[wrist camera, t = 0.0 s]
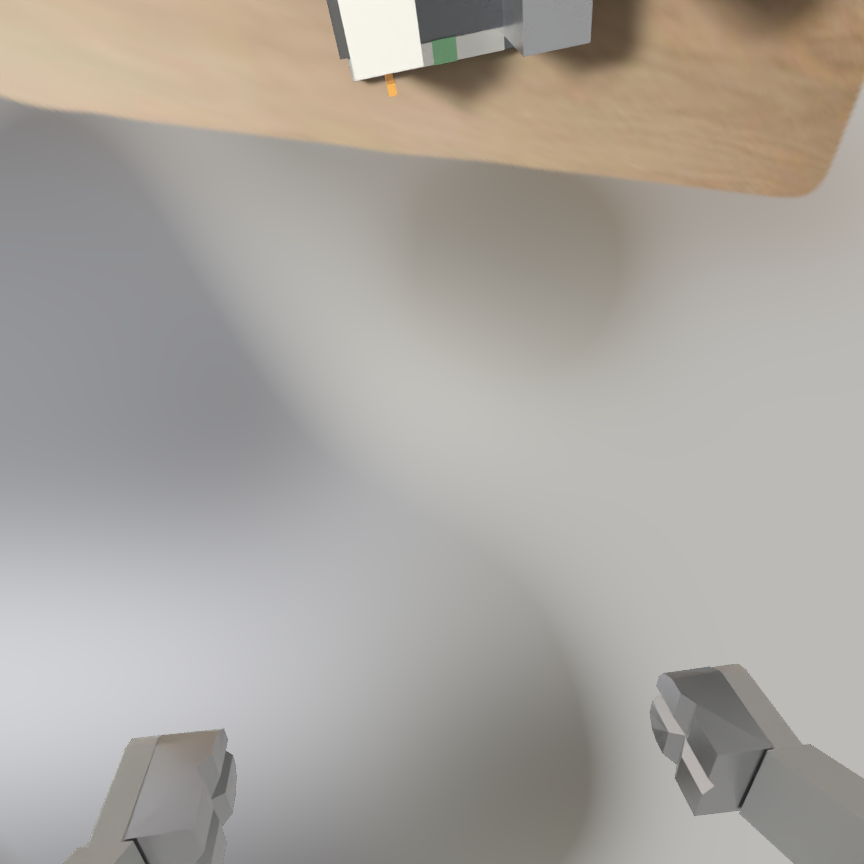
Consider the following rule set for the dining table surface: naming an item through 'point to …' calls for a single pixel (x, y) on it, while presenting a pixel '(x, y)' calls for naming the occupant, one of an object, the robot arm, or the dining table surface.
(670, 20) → the dining table surface
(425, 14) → the base
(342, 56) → the cream rectangular block
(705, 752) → the robot arm
